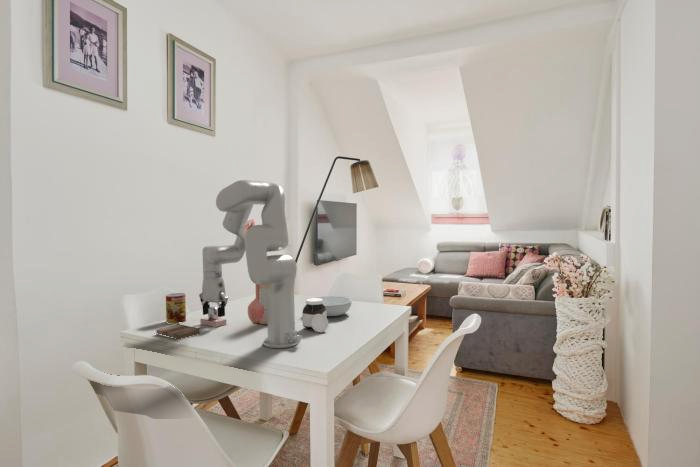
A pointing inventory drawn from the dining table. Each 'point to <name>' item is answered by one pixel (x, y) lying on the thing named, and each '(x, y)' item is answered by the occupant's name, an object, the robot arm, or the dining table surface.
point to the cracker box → (264, 301)
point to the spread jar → (315, 315)
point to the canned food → (175, 308)
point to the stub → (213, 318)
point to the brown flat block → (178, 331)
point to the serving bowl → (336, 304)
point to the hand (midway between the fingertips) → (213, 315)
